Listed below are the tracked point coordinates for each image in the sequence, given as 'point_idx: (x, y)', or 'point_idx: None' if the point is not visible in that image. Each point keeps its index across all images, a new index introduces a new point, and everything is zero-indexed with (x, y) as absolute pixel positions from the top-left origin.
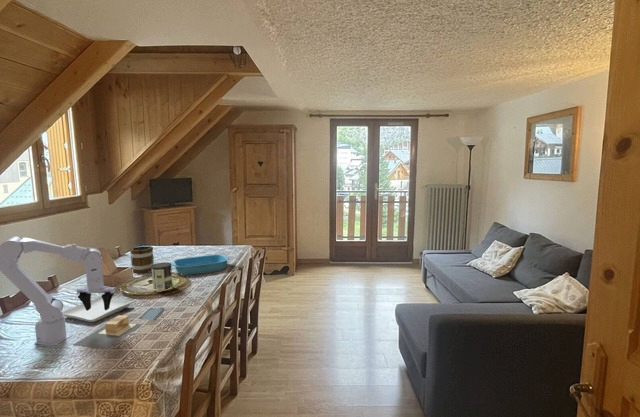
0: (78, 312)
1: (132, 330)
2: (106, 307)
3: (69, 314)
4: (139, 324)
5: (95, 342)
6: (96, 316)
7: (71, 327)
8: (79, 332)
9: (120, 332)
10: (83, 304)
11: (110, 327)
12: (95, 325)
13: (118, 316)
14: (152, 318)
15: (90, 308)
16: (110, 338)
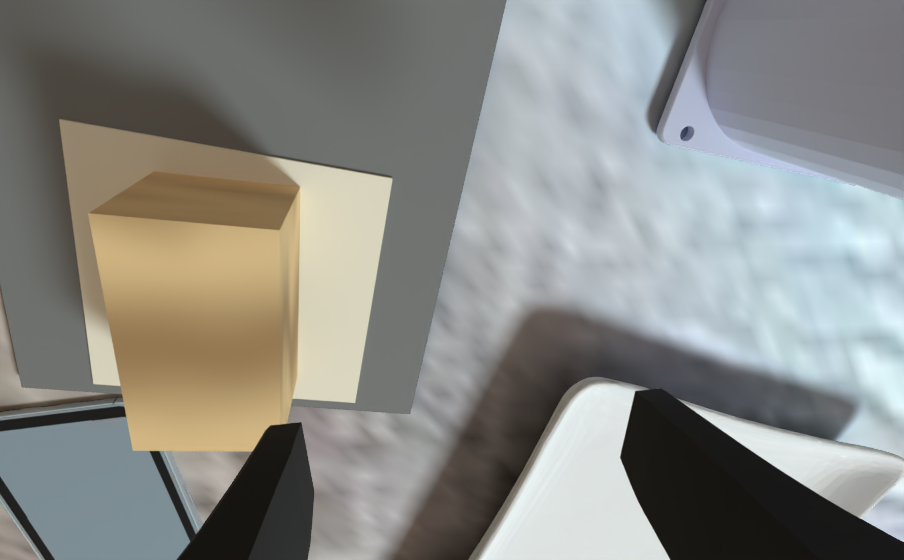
0: None
1: (4, 254)
2: (239, 474)
3: (826, 473)
4: (58, 383)
5: None
6: (604, 470)
7: (735, 309)
8: (620, 220)
9: None
10: (791, 477)
11: (202, 203)
12: (537, 351)
13: (255, 427)
14: (35, 494)
15: (622, 454)
16: (121, 40)
